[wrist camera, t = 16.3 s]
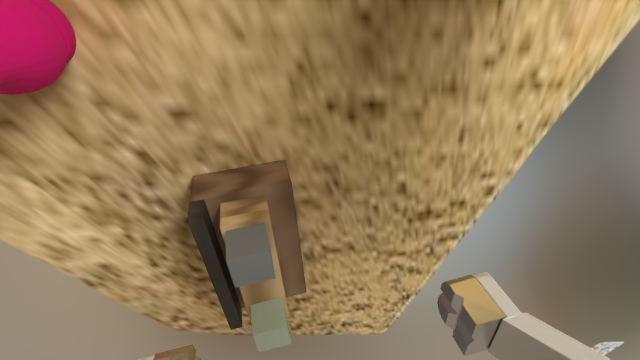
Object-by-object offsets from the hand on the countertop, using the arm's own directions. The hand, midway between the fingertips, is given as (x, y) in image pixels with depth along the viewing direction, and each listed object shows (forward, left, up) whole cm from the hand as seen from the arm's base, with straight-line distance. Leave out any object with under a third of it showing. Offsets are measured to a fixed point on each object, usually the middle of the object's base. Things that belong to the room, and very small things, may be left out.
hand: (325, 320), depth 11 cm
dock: (+4, +22, -29) cm, 37 cm away
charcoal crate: (+4, +15, -20) cm, 26 cm away
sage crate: (+4, +28, -20) cm, 35 cm away
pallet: (+4, +22, -24) cm, 33 cm away
